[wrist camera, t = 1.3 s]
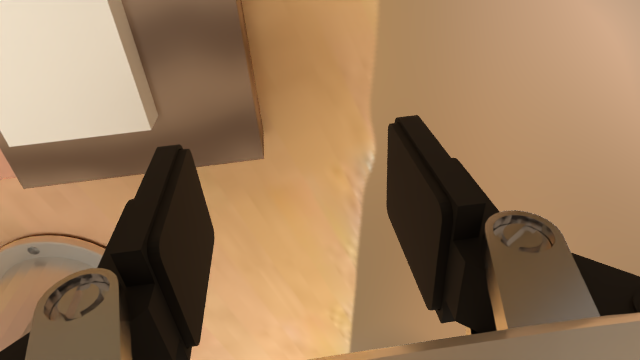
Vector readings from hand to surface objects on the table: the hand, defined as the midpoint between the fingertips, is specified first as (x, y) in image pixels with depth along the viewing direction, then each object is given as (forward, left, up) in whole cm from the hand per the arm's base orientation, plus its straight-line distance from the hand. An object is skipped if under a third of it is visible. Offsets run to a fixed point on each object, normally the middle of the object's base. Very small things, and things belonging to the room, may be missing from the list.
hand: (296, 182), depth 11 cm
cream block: (0, +12, -15) cm, 20 cm away
